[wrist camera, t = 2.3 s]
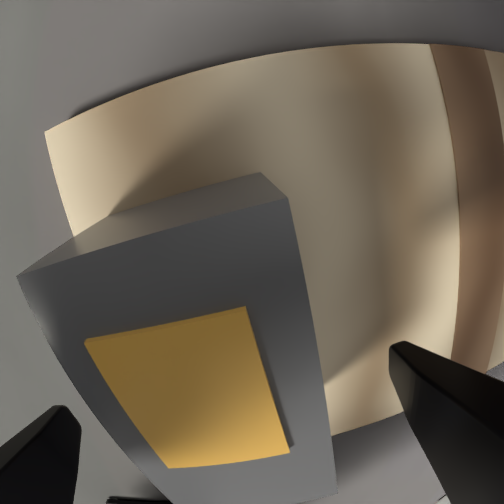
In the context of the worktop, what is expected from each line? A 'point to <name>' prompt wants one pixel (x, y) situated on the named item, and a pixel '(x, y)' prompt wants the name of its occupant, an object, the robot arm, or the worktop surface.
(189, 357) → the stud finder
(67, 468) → the robot arm
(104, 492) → the worktop surface
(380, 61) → the board
